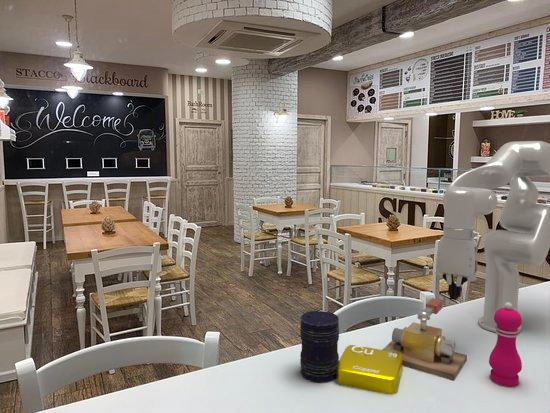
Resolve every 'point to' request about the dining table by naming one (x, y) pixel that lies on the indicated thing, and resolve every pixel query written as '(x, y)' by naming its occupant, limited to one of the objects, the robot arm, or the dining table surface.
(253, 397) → the dining table surface
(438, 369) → the valve board
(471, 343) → the dining table surface
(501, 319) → the pepper mill
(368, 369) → the element tile
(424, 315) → the valve lever
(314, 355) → the black ridged cylinder
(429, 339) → the ball valve
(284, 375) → the dining table surface
